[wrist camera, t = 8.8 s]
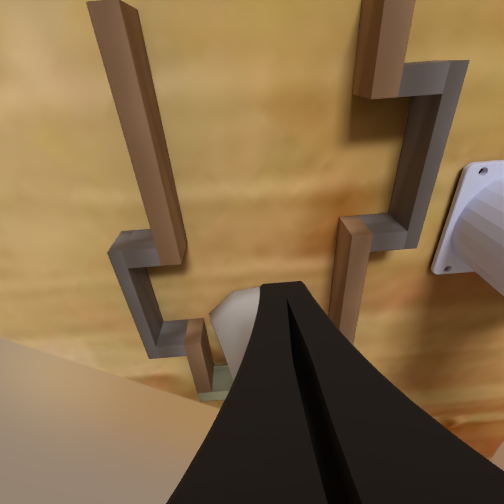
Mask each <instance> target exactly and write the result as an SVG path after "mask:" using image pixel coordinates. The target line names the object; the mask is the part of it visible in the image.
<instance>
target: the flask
mask: <svg viewBox="0 0 504 504" xmlns="http://www.w3.org/2000/svg"><path fill="white" fill-rule="evenodd" d="M259 297H260V287H255V288H249V289H244V290H239V291H233V292H232V293H231V294H230V295H228V296H227V297H226V298H225V299H224V300H223V301H222V302H221V303H220V304H219V305H218V306H217V307H216V308H215V309H213V310H212V311H211V312H210V313H209V315H210V318H211V321H212V324H213V326H214V329H215V331H216V334H217V337H218V339H219V342H220V344H221V347H222V349H223V352H224V355H225V358H226V361H227V364H228V367H229V370H230V372H231V375H232V378H233V381H234V379H235V377H236V374H237V372H238V369H239V367H240V365H241V362H242V359H243V356H244V354H245V351H246V348H247V345H248V342H249V339H250V336H251V333H252V329H253V326H254V322H255V318H256V314H257V310H258V305H259Z"/></svg>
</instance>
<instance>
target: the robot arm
mask: <svg viewBox="0 0 504 504" xmlns="http://www.w3.org/2000/svg"><path fill="white" fill-rule="evenodd" d="M482 168H483V170H482V172H480V173H479V171H480V169H482ZM445 267H446V268H445ZM431 270H432V272H433V273H434V274H437V275H440V274H452V273H464V272H476V273H477V274H478V275H479V276H481V277H482V278H483V279H484V280H485V281H486V282H487V283H489V284H490V285H491V286H492V287H493V288H494V289H496V290H497V291H498V292H499V293H500V294H501V295H502V296H504V160H494V161H482V162H472V163H469V164H468V165H466V166H465V167H464V169H463V171H462V174H461V177H460V180H459V183H458V186H457V189H456V192H455V195H454V198H453V201H452V204H451V207H450V210H449V214H448V217H447V220H446V223H445V226H444V229H443V232H442V235H441V238H440V241H439V244H438V247H437V250H436V253H435V256H434V260H433V263H432V266H431ZM166 504H504V471H503V470H502V469H500V468H499V467H497V466H496V465H494V464H493V463H492V462H490V461H489V460H488V459H486V458H485V457H484V456H482V455H481V454H479V453H478V452H477V451H475V450H474V449H473V448H471V447H470V446H469V445H467V444H466V443H464V442H463V441H462V440H460V439H459V438H458V437H456V436H455V435H454V434H453V433H451V432H450V431H449V430H448V429H446V428H445V427H444V426H443V425H441V424H440V423H439V422H438V421H436V420H435V419H434V418H433V417H431V416H430V415H429V414H428V413H426V412H425V411H424V410H422V409H421V408H420V407H419V406H417V405H416V404H415V403H414V402H413V401H411V400H410V399H409V398H408V397H407V396H406V395H405V394H403V393H402V392H401V391H400V390H399V389H398V388H397V387H395V386H394V385H393V384H392V383H391V382H390V381H389V380H388V379H387V378H385V377H384V376H383V375H382V374H381V373H380V372H379V371H378V370H377V369H376V368H375V367H374V366H373V365H372V364H371V363H370V362H369V361H368V360H367V359H366V358H365V357H364V356H363V355H362V354H361V353H360V352H359V351H358V350H357V349H356V348H355V347H354V346H353V345H352V344H351V343H350V342H349V340H348V339H347V338H346V337H345V336H344V335H343V334H342V333H341V331H340V330H339V329H338V328H337V327H336V325H335V324H334V323H333V322H332V321H331V320H330V318H329V317H328V316H327V315H326V313H325V312H324V311H323V310H322V308H321V307H320V306H319V304H318V303H317V302H316V300H315V299H314V298H313V296H312V295H311V293H310V292H309V290H308V289H307V287H306V286H305V284H304V283H303V282H301V281H295V282H283V283H270V284H263V285H261V286H260V297H259V305H258V310H257V314H256V318H255V322H254V326H253V329H252V333H251V336H250V339H249V342H248V345H247V348H246V351H245V354H244V356H243V359H242V362H241V365H240V367H239V369H238V372H237V374H236V377H235V379H234V381H233V384H232V386H231V388H230V390H229V393H228V395H227V397H226V399H225V401H224V403H223V405H222V407H221V409H220V411H219V413H218V415H217V417H216V419H215V421H214V423H213V425H212V427H211V429H210V431H209V432H208V434H207V436H206V438H205V440H204V441H203V443H202V445H201V447H200V448H199V450H198V452H197V454H196V455H195V457H194V459H193V460H192V462H191V464H190V466H189V467H188V469H187V471H186V473H185V474H184V476H183V478H182V479H181V481H180V483H179V484H178V486H177V487H176V489H175V491H174V492H173V494H172V495H171V497H170V498H169V500H168V502H167V503H166Z"/></svg>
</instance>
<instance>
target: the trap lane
mask: <svg viewBox="0 0 504 504" xmlns="http://www.w3.org/2000/svg"><path fill="white" fill-rule="evenodd" d="M86 4H87V7H88V11H89V14H90V18H91V21H92V25H93V28H94V32H95V35H96V39H97V42H98V46H99V49H100V53H101V56H102V60H103V63H104V67H105V70H106V74H107V77H108V81H109V84H110V88H111V92H112V95H113V99H114V102H115V106H116V109H117V113H118V116H119V120H120V123H121V127H122V130H123V134H124V137H125V141H126V144H127V148H128V151H129V155H130V158H131V162H132V165H133V169H134V172H135V176H136V179H137V183H138V186H139V190H140V193H141V197H142V200H143V204H144V207H145V211H146V214H147V218H148V221H149V225H150V228H151V229H146V230H133V231H121V233H120V234H119V236H118V237H117V239H116V240H115V242H114V243H113V245H112V246H111V248H110V249H109V250H108V252H107V254H108V256H109V259H110V261H111V264H112V266H113V269H114V271H115V274H116V276H117V279H118V281H119V284H120V286H121V289H122V292H123V294H124V297H125V299H126V302H127V304H128V307H129V309H130V312H131V314H132V317H133V319H134V322H135V324H136V327H137V329H138V332H139V334H140V337H141V340H142V342H143V345H144V347H145V350H146V352H147V355H148V357H149V359H154V358H166V357H179V356H187V358H188V362H189V365H190V369H191V372H192V376H193V379H194V383H195V386H196V390H197V393H198V397H199V400H200V401H212V400H224V399H226V397H227V395H228V393H229V390H230V388H231V386H232V384H233V378H232V375H231V372H230V370H229V367H228V365H221V366H214V364H213V360H212V355H211V350H210V346H209V341H208V336H207V332H206V327H205V322H204V318H202V319H189V320H177V321H164V322H163V319H162V316H161V313H160V310H159V307H158V304H157V301H156V297H155V294H154V291H153V288H152V285H151V282H150V279H149V276H148V273H147V269H146V267H153V266H165V265H178V264H182V261H183V257H184V253H185V249H186V246H187V238H186V234H185V229H184V224H183V220H182V215H181V210H180V206H179V201H178V197H177V192H176V187H175V183H174V178H173V173H172V169H171V164H170V159H169V155H168V150H167V145H166V141H165V136H164V131H163V127H162V122H161V117H160V113H159V108H158V103H157V99H156V94H155V89H154V85H153V80H152V75H151V71H150V66H149V61H148V57H147V52H146V47H145V43H144V38H143V34H142V29H141V24H140V20H139V15H138V10H137V9H135V8H134V7H132V6H130V5H128V4H126V3H124V2H123V1H121V0H101V1H88V2H86ZM414 5H415V0H362V7H361V17H360V26H359V36H358V45H357V54H356V64H355V73H354V83H353V92H352V94H353V95H357V96H360V97H364V98H368V99H381V98H394V97H407V96H413V97H412V102H411V107H410V111H409V116H408V121H407V126H406V131H405V136H404V141H403V146H402V151H401V155H400V160H399V165H398V170H397V175H396V180H395V185H394V190H393V194H392V199H391V204H390V209H389V213H382V214H370V215H357V216H344V217H339V225H338V234H337V243H336V253H335V262H334V272H333V281H332V291H331V300H330V310H329V318H330V320H331V321H332V322H333V323H334V324H335V325H336V327H337V328H338V329H339V330H340V331H341V333H342V334H343V335H344V336H345V337H346V338H347V339H348V340H349V342H350V343H351V344H352V345H353V342H354V337H355V331H356V326H357V320H358V315H359V309H360V304H361V298H362V293H363V287H364V282H365V276H366V271H367V265H368V260H369V254H370V252H375V251H388V250H400V249H413V248H417V245H418V242H419V238H420V235H421V231H422V227H423V224H424V220H425V217H426V213H427V210H428V206H429V203H430V199H431V195H432V192H433V188H434V185H435V181H436V178H437V174H438V171H439V167H440V163H441V160H442V156H443V153H444V149H445V146H446V142H447V139H448V135H449V131H450V128H451V124H452V121H453V117H454V114H455V110H456V107H457V103H458V99H459V96H460V92H461V89H462V85H463V82H464V78H465V75H466V71H467V67H468V64H469V60H448V61H425V62H412V63H404V61H405V55H406V50H407V44H408V38H409V33H410V27H411V22H412V16H413V11H414Z"/></svg>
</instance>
